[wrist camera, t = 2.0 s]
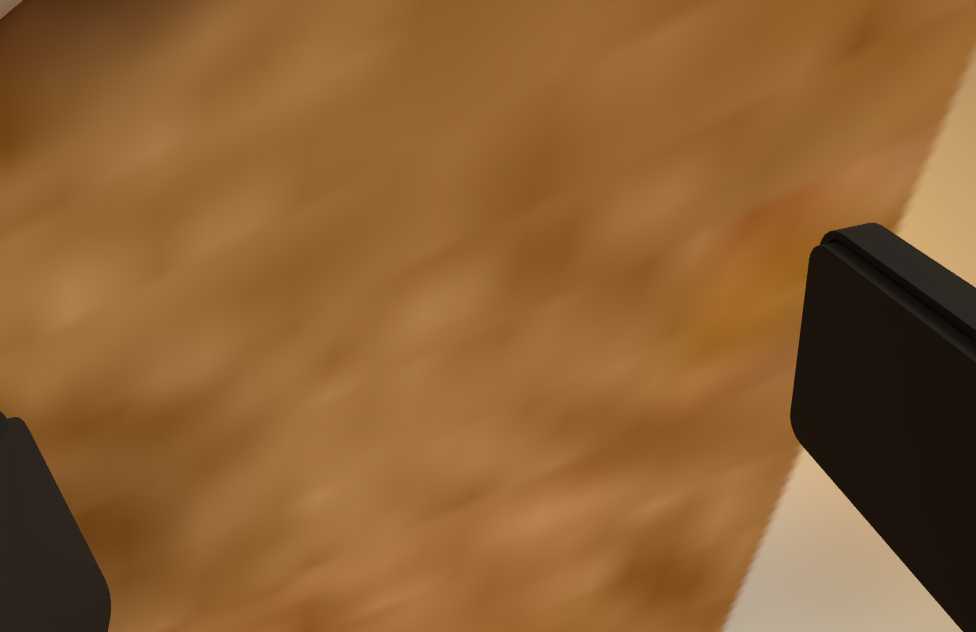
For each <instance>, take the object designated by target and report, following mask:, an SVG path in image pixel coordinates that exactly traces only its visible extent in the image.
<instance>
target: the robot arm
mask: <svg viewBox="0 0 976 632" xmlns="http://www.w3.org/2000/svg"><path fill="white" fill-rule="evenodd" d="M790 419H791V425H792V428H793V432H794V434H795V436H796V438H797V439H798V441H799V442H800V444H801V445H802V446H803V447H804V448H805V449H806V451H807V452H809V454H810V455H811V456H812V457H813V459H814V460H815V461H816V462H817V463H818V464H819V466H820V467H821V468H822V469H823V470H824V471H825V473H826V474H827V475H828V476H829V477H830V478H831V479H832V480H833V482H834V483H835V484H836V485H837V486H838V488H839V489H840V490H841V491H842V492H843V493H844V494H845V496H846V497H847V498H848V499H849V500H850V501H851V503H852V504H853V505H854V506H855V507H856V508H857V510H858V511H859V512H860V513H861V514H862V515H863V516H864V518H865V519H866V520H867V521H868V522H869V523H870V525H871V526H872V527H873V528H874V529H875V530H876V532H877V533H878V534H879V535H880V536H881V537H882V539H883V540H884V541H885V542H886V543H887V544H888V545H889V547H890V548H891V549H892V550H893V551H894V552H895V554H896V555H897V556H898V557H899V558H900V559H901V561H902V562H903V563H904V564H905V565H906V566H907V567H908V569H909V570H910V571H911V572H912V573H913V574H914V576H915V577H916V578H917V579H918V580H919V581H920V583H921V584H922V585H923V586H924V587H925V588H926V589H927V591H928V592H929V593H930V594H931V595H932V596H933V598H934V599H935V600H936V601H937V602H938V603H939V604H940V605H941V607H942V608H943V609H944V610H945V611H946V613H947V614H948V615H949V616H950V617H951V618H952V619H953V620H954V622H955V623H956V624H957V625H958V626H959V627H960V629H961V630H962V631H963V632H976V288H975V287H973V286H972V285H970V284H969V283H968V282H966V281H965V280H963V279H962V278H960V277H959V276H957V275H955V274H954V273H953V272H951V271H950V270H948V269H946V268H945V267H943V266H942V265H940V264H939V263H937V262H936V261H934V260H933V259H931V258H930V257H928V256H927V255H925V254H924V253H922V252H921V251H919V250H918V249H916V248H915V247H913V246H912V245H910V244H909V243H907V242H905V241H904V240H903V239H901V238H900V237H898V236H897V235H895V234H894V233H892V232H891V231H889V230H888V229H886V228H885V227H883V226H881V225H879V224H877V223H867V224H862V225H858V226H853V227H848V228H843V229H839V230H834V231H830V232H828V233H827V234H825V235H824V237H823V239H822V240H821V243H820V245H819V246H816V247H815V248H813V250H812V252H811V254H810V258H809V265H808V274H807V282H806V290H805V298H804V306H803V314H802V322H801V331H800V339H799V347H798V355H797V363H796V371H795V379H794V388H793V396H792V404H791V412H790ZM110 615H111V599H110V593H109V589H108V585H107V583H106V580H105V578H104V576H103V574H102V572H101V570H100V568H99V566H98V565H97V563H96V561H95V559H94V557H93V555H92V553H91V551H90V549H89V547H88V545H87V543H86V541H85V539H84V537H83V535H82V533H81V531H80V529H79V527H78V525H77V523H76V521H75V519H74V517H73V515H72V513H71V511H70V510H69V508H68V506H67V504H66V502H65V500H64V498H63V496H62V494H61V492H60V490H59V488H58V486H57V484H56V482H55V480H54V478H53V476H52V474H51V472H50V470H49V468H48V466H47V464H46V462H45V460H44V458H43V456H42V455H41V453H40V451H39V449H38V447H37V445H36V443H35V441H34V439H33V437H32V435H31V433H30V431H29V429H28V427H27V426H26V424H25V422H24V421H23V420H22V419H20V418H18V417H13V418H8V419H7V418H6V417H5V415H4V414H3V413H2V412H0V632H108V627H109V622H110Z"/></svg>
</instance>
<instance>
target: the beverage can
mask: <svg viewBox="0 0 976 632" xmlns="http://www.w3.org/2000/svg"><path fill="white" fill-rule="evenodd" d="M22 1H23V0H0V19H1V18H2V17H4V16H5V15H6V14H7V13H8V12H10V11H11V10H12V9H13V8H14V7H16V6H17V5H18V4H19V3H20V2H22Z"/></svg>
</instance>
